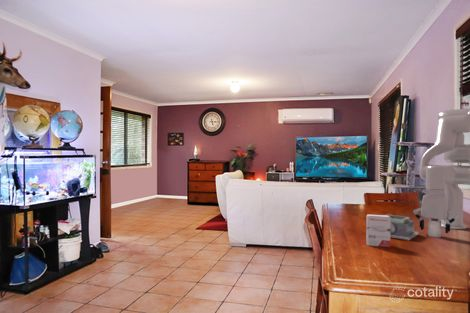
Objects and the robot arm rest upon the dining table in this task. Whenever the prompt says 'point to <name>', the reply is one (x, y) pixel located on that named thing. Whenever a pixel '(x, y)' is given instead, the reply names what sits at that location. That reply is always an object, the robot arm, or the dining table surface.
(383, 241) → the ink box
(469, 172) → the robot arm
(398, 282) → the dining table surface
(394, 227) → the motor
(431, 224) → the white cylinder
